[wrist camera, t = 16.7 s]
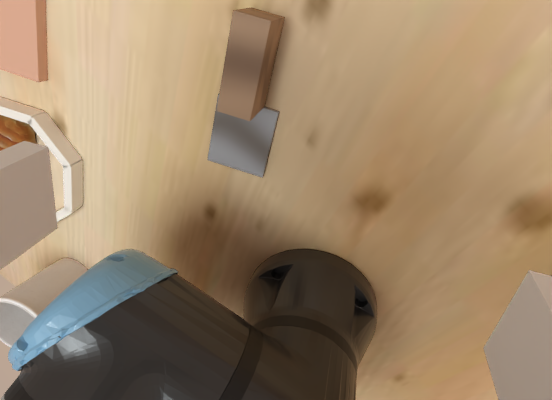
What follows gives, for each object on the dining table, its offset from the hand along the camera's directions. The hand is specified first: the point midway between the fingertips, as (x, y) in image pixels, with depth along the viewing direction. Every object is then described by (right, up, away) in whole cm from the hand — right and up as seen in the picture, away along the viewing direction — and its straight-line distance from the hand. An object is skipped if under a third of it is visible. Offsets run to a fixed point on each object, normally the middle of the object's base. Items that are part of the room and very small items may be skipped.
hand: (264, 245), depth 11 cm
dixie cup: (-27, -9, +44) cm, 52 cm away
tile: (-25, +21, +27) cm, 43 cm away
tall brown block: (-2, +11, +27) cm, 30 cm away
